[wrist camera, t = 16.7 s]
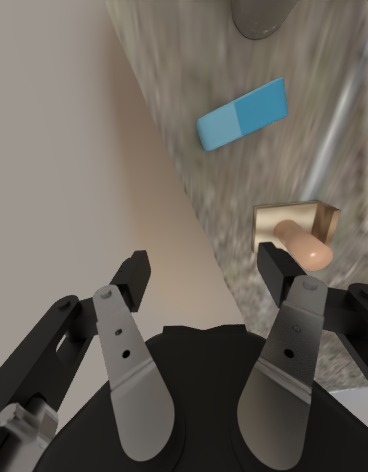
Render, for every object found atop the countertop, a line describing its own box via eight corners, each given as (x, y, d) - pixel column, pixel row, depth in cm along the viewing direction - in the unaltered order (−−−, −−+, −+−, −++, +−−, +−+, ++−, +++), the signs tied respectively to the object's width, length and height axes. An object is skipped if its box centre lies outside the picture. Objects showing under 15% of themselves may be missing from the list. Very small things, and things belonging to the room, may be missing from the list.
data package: (203, 150, 36) (207, 152, 26) (196, 127, 34) (196, 119, 24) (262, 124, 34) (293, 113, 23) (257, 97, 32) (288, 72, 21)
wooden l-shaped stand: (254, 206, 41) (265, 216, 35) (318, 200, 39) (340, 210, 33) (251, 249, 46) (260, 265, 40) (307, 245, 45) (325, 261, 39)
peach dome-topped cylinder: (275, 220, 40) (303, 247, 30) (298, 218, 40) (336, 245, 29) (272, 240, 43) (298, 271, 32) (295, 238, 42) (328, 269, 31)
